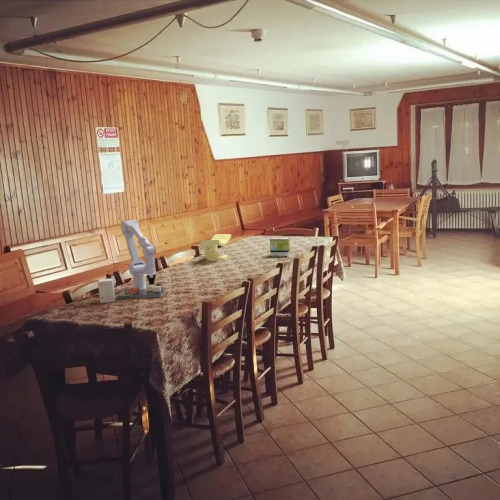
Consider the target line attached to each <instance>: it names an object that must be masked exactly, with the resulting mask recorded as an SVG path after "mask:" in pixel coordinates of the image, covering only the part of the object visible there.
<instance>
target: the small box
mask: <svg viewBox="0 0 500 500" xmlns="http://www.w3.org/2000/svg"><path fill="white" fill-rule="evenodd" d="M97 285H98V286H97V287H98V293H99V294H98V296H99V302H100V304H103V303H104V304H106V303H115V301H116V300H117V298H116V291H115V280H114V278H100V279H99V280H98V281H97Z"/></svg>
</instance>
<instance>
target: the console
mask: <svg viewBox="0 0 500 500" xmlns="http://www.w3.org/2000/svg"><path fill="white" fill-rule="evenodd" d="M165 292H166V291H165V288H164V286H162V285H161V292H154V291H147V289H144V290H139V292H137V293H132V294H128V295H125V291H124V290H122V291H121V292H119V294H117V295H116V297H117V298H116V300H128V299H129V300H130V299H133V300H134V299H160V298H162V297H163V295H164V293H165Z"/></svg>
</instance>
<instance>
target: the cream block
mask: <svg viewBox="0 0 500 500" xmlns="http://www.w3.org/2000/svg"><path fill="white" fill-rule="evenodd" d="M146 285H147V286H146V288H145V289H146V290H147V291H153V287H154V286H155V284H154V285H149V284H146Z"/></svg>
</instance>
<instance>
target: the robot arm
mask: <svg viewBox="0 0 500 500" xmlns="http://www.w3.org/2000/svg"><path fill="white" fill-rule="evenodd" d="M120 230H121V232H122V235H123V236H124V239H125V243H126V247H127V248H128V249H127V250H128V252H129V256H130V260H131V261H130V262H129V264H128V271H129V274H130V276H132V284H133V285H132V286H133V287H132V289H134V288H136V287H139V290H146V289H147V288H146V286H147V285H154V286H155V281H156V280H155V279H156V277H157V276H156V273H157V272H156V264H155V263H156V262H155V261H156V260H155V255H156V253H157V250H156V247H155V245H154V244H151V242H150V241H149V239H148V238H147V237H146V236H143V233H142V232H141V230H140V223H139V221H138V220H137V219H130V220H122V221H121V223H120ZM134 236H135V237H136V238H137V239H138V240H137V243H138V245H139V246H140V247H141V249H142V255H143V258H144V260H142V259H141V258H140V256H139V252H138V248H137V245H136V241H135V238H134ZM145 275H146V276H145ZM146 279H147V280H148V284H146V283H147V282H146Z"/></svg>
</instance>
